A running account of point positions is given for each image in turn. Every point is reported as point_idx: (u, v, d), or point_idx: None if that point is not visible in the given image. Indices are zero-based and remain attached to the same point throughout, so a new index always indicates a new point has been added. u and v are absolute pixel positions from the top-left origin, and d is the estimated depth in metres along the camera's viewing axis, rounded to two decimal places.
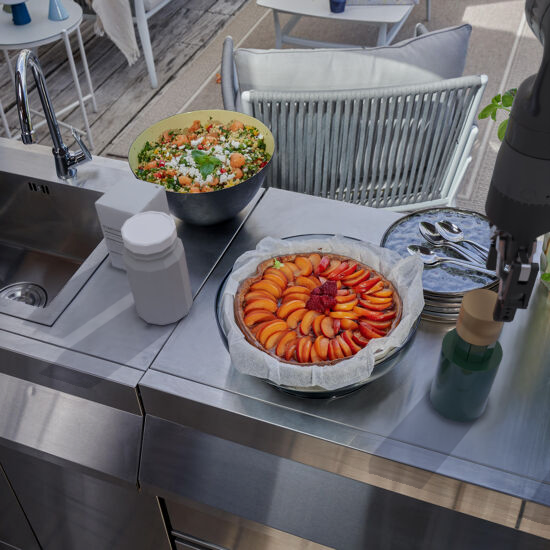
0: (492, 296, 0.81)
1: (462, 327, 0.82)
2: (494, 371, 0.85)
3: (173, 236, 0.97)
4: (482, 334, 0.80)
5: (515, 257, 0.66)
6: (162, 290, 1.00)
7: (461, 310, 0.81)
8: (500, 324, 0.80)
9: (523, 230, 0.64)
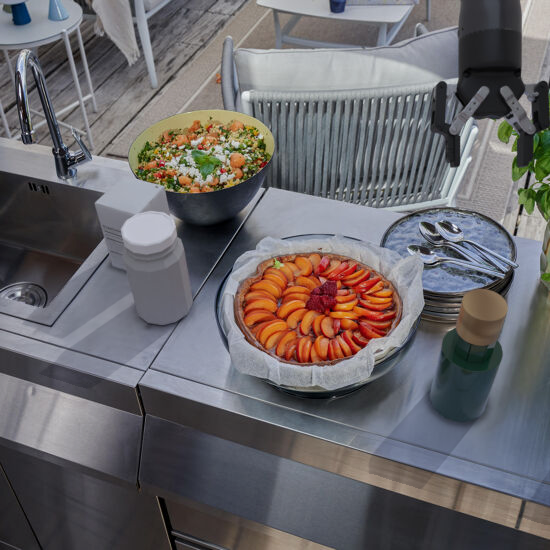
0: (492, 296, 0.81)
1: (462, 327, 0.82)
2: (494, 371, 0.85)
3: (173, 236, 0.97)
4: (482, 334, 0.80)
5: (454, 93, 0.80)
6: (162, 290, 1.00)
7: (461, 310, 0.81)
8: (500, 324, 0.80)
9: (458, 66, 0.80)
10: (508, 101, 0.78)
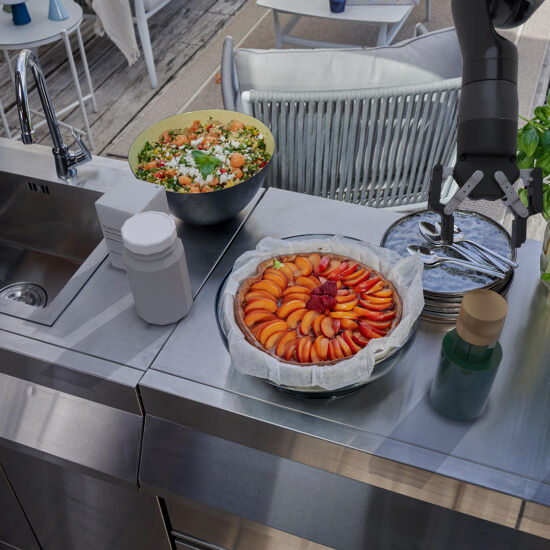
0: (492, 296, 0.81)
1: (462, 327, 0.82)
2: (494, 371, 0.85)
3: (173, 236, 0.97)
4: (482, 334, 0.80)
5: (451, 174, 0.84)
6: (162, 290, 1.00)
7: (461, 310, 0.81)
8: (500, 324, 0.80)
9: None
10: (502, 185, 0.82)
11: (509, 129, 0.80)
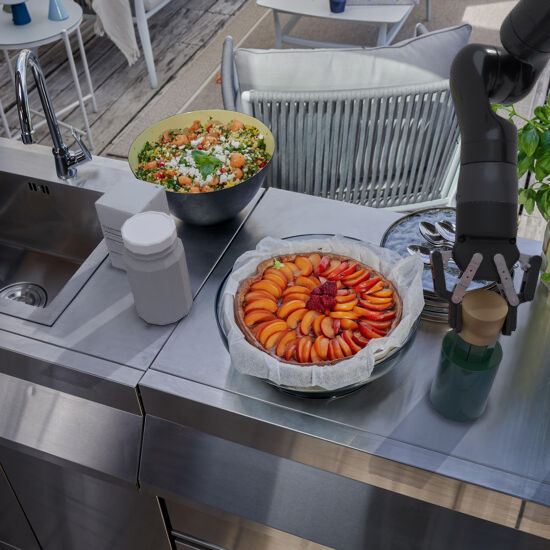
0: (492, 296, 0.81)
1: (462, 327, 0.82)
2: (494, 371, 0.85)
3: (173, 236, 0.97)
4: (482, 334, 0.80)
5: None
6: (162, 290, 1.00)
7: None
8: (500, 324, 0.80)
9: (455, 229, 0.83)
10: (499, 268, 0.80)
11: (509, 212, 0.79)
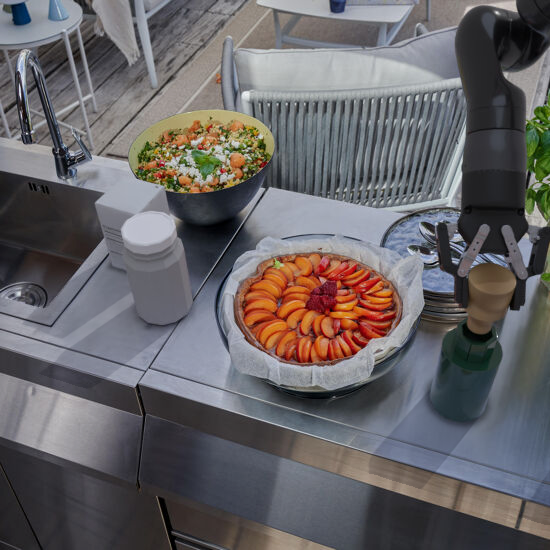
0: (500, 270, 0.78)
1: (468, 302, 0.79)
2: (494, 371, 0.85)
3: (173, 236, 0.97)
4: (489, 309, 0.77)
5: None
6: (162, 290, 1.00)
7: None
8: (508, 298, 0.76)
9: (461, 201, 0.79)
10: (507, 240, 0.77)
11: (517, 181, 0.75)
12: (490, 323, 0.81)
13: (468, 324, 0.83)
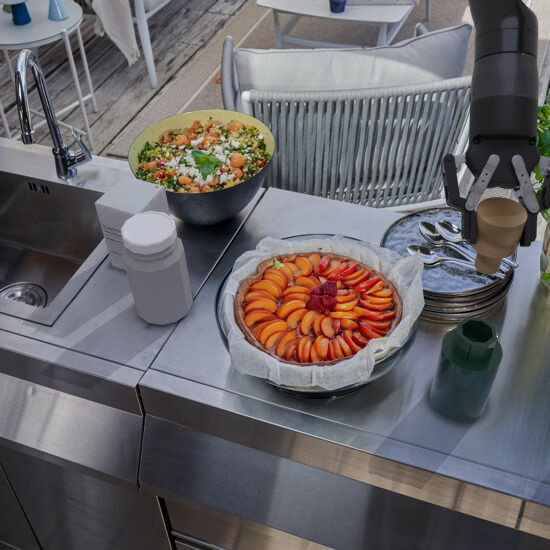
0: (510, 204, 0.74)
1: (476, 238, 0.75)
2: (494, 371, 0.85)
3: (173, 236, 0.97)
4: (499, 244, 0.73)
5: None
6: (162, 290, 1.00)
7: None
8: (518, 232, 0.73)
9: (469, 132, 0.75)
10: (517, 171, 0.73)
11: (529, 108, 0.71)
12: (499, 262, 0.77)
13: (475, 264, 0.79)
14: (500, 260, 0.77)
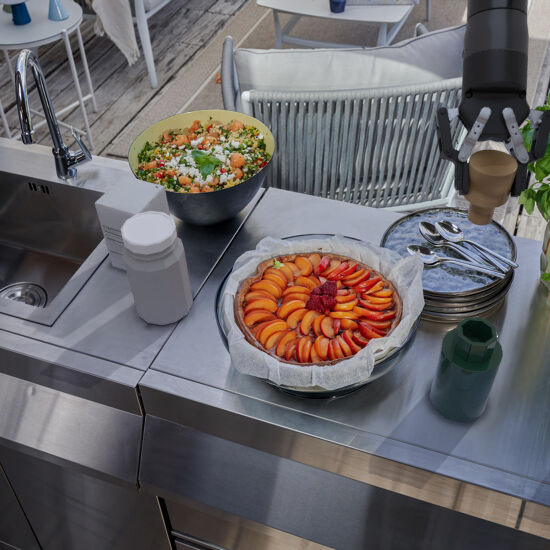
0: (501, 155, 0.77)
1: (469, 188, 0.78)
2: (494, 371, 0.85)
3: (173, 236, 0.97)
4: (490, 193, 0.76)
5: None
6: (162, 290, 1.00)
7: None
8: (509, 182, 0.76)
9: (462, 87, 0.79)
10: (508, 123, 0.76)
11: (519, 61, 0.75)
12: (491, 213, 0.80)
13: (468, 216, 0.82)
14: (492, 211, 0.80)
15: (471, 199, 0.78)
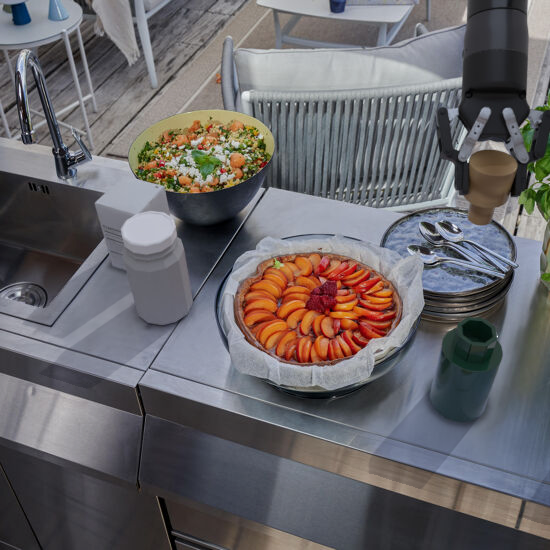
0: (501, 155, 0.77)
1: (469, 188, 0.78)
2: (494, 371, 0.85)
3: (173, 236, 0.97)
4: (490, 193, 0.76)
5: None
6: (162, 290, 1.00)
7: None
8: (509, 182, 0.76)
9: (462, 87, 0.79)
10: (508, 123, 0.76)
11: (519, 61, 0.75)
12: (491, 213, 0.80)
13: (468, 216, 0.82)
14: (492, 211, 0.80)
15: (471, 199, 0.78)
